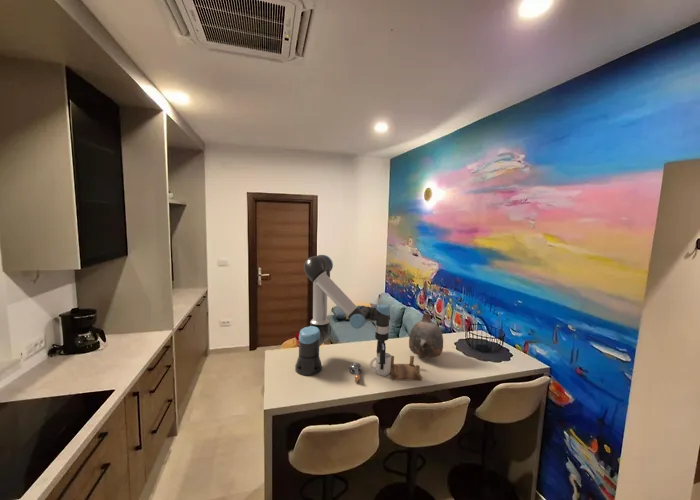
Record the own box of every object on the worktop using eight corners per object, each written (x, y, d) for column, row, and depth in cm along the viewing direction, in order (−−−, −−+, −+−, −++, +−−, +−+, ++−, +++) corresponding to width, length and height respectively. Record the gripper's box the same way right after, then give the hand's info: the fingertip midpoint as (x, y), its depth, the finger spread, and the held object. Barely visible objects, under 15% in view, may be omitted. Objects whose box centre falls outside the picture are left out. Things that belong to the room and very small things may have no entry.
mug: (371, 376, 170) (372, 358, 169) (368, 369, 178) (368, 352, 177) (392, 375, 172) (393, 358, 171) (387, 368, 180) (388, 352, 179)
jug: (447, 366, 186) (451, 318, 184) (412, 365, 186) (415, 317, 183) (435, 349, 211) (439, 307, 208) (404, 348, 211) (407, 306, 208)
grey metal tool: (351, 382, 162) (352, 375, 161) (349, 367, 178) (350, 361, 178) (363, 382, 162) (363, 375, 162) (360, 367, 179) (360, 361, 178)
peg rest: (392, 379, 168) (393, 367, 167) (387, 365, 184) (388, 354, 183) (421, 380, 169) (422, 368, 168) (413, 366, 185) (414, 355, 184)
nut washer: (349, 374, 172) (349, 372, 172) (349, 368, 179) (349, 366, 179) (362, 374, 172) (362, 372, 172) (360, 368, 179) (360, 366, 179)
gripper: (392, 339, 163) (389, 379, 165) (385, 325, 184) (383, 361, 186) (378, 339, 162) (376, 379, 165) (372, 325, 183) (371, 361, 186)
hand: (379, 370), depth 175 cm, fingers closed on mug, 8 cm apart
